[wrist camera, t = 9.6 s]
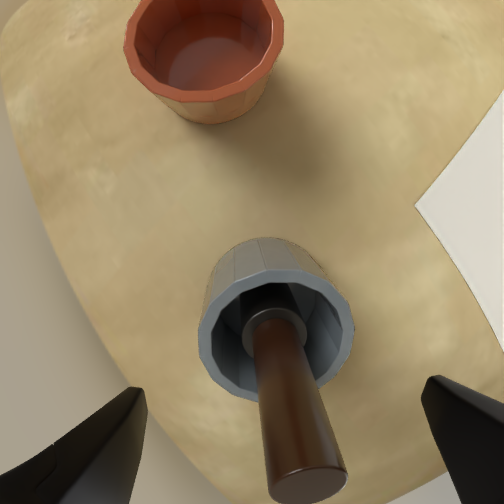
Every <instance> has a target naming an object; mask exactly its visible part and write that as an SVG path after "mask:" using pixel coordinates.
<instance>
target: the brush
mask: <svg viewBox="0 0 504 504" xmlns="http://www.w3.org/2000/svg"><path fill="white" fill-rule="evenodd" d="M240 315H241V337H242V344H243V347H244V349H245V351H246V352H247V353H248V355H250V356H251V357H252V358H253V359H254V365H255V374H256V383H257V393H258V402H259V411H260V420H261V429H262V439H263V447H264V456H265V465H266V474H267V483H268V492H269V495H270V496H271V498H272V499H273V500H275V501H276V502H278V503H281V504H312V503H316V502H320V501H323V500H325V499H327V498H330V497H331V496H333V495H335V494H336V493H338V492H339V491H340V490H341V489H342V488H343V487H344V486H345V485H346V483H347V480H348V473H347V470H346V467H345V464H344V461H343V458H342V455H341V453H340V450H339V447H338V444H337V441H336V438H335V435H334V432H333V430H332V427H331V424H330V421H329V418H328V415H327V413H326V410H325V407H324V404H323V401H322V399H321V396H320V393H319V390H318V387H317V385H316V382H315V379H314V376H313V373H312V371H311V368H310V365H309V362H308V360H307V357H306V354H305V351H304V348H303V347H304V345H305V343H306V340H307V327H306V324H305V322H304V320H303V317H302V315H301V313H300V310H299V308H298V306H297V303H296V301H295V299H294V297H293V294H292V292H291V290H290V287H289V285H288V284H287V283H267V284H264V285H261V286H258V287H256V288H253V289H250V290H247V291H245V292H242V293H241V294H240Z"/></svg>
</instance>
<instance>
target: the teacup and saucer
mask: <svg viewBox="0 0 504 504" xmlns="http://www.w3.org/2000/svg"><path fill="white" fill-rule="evenodd" d="M414 206H415V207H416V208H417V210H418V211H419V212H420V214H421V215H422V217H423V218H424V219H425V221H426V222H427V223H428V225H429V226H430V228H431V229H432V230H433V232H434V233H435V235H436V236H437V238H438V239H439V241H440V242H441V243H442V245H443V246H444V248H445V249H446V251H447V252H448V254H449V255H450V257H451V259H452V260H453V262H454V263H455V265H456V266H457V268H458V270H459V271H460V273H461V274H462V276H463V278H464V279H465V281H466V283H467V284H468V286H469V288H470V289H471V291H472V293H473V294H474V296H475V298H476V300H477V301H478V303H479V305H480V307H481V309H482V310H483V312H484V314H485V316H486V318H487V320H488V321H489V323H490V325H491V327H492V329H493V331H494V333H495V335H496V337H497V339H498V341H499V343H500V345H501V347H502V349H503V351H504V90H503V91H502V93H501V94H500V96H499V97H498V99H497V100H496V102H495V103H494V104H493V106H492V107H491V109H490V110H489V112H488V113H487V114H486V116H485V117H484V118H483V120H482V121H481V123H480V124H479V125H478V127H477V128H476V129H475V131H474V132H473V133H472V135H471V136H470V137H469V139H468V140H467V141H466V143H465V144H464V145H463V147H462V148H461V149H460V150H459V152H458V153H457V154H456V155H455V157H454V158H453V159H452V161H451V162H450V163H449V164H448V166H447V167H446V168H445V169H444V171H443V172H442V173H441V174H440V175H439V177H438V178H437V179H436V180H435V181H434V183H433V184H432V185H431V186H430V187H429V189H428V190H427V191H426V192H425V193H424V195H423V196H422V197H421V198H420V199H419V200H418V202H417V203H416V204H415V205H414Z"/></svg>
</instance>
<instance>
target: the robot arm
mask: <svg viewBox="0 0 504 504" xmlns="http://www.w3.org/2000/svg"><path fill="white" fill-rule="evenodd" d="M421 402H422V405H423V408H424V411H425V414H426V417H427V420H428V423H429V426H430V429H431V432H432V435H433V437H434V440H435V442H436V444H437V446H438V449H439V451H440V453H441V455H442V458H443V460H444V462H445V465H446V467H447V469H448V472H449V474H450V476H451V479H452V481H453V484H454V486H455V489H456V491H457V494H458V496H459V499H460V501H461V504H504V404H503V403H501V402H499V401H497V400H494V399H492V398H490V397H488V396H485V395H483V394H481V393H479V392H476V391H474V390H472V389H470V388H468V387H465V386H463V385H461V384H459V383H457V382H454V381H452V380H450V379H448V378H446V377H444V376H441V375H435V376H431V377H429V378H428V379H427V382H426V384H425V387H424V390H423V392H422V395H421ZM147 414H148V409H147V404H146V399H145V394H144V390H143V389H142V388H139V387H128V388H127V389H126V390H124V391H123V392H122V393H120V394H119V395H118V396H116V397H115V398H114V399H112V400H111V401H110V402H108V403H107V404H106V405H104V406H103V407H102V408H100V409H99V410H98V411H96V412H95V413H94V414H92V415H91V416H90V417H88V418H87V419H86V420H85V421H83V422H82V423H80V424H79V425H78V426H76V427H75V428H74V429H72V430H71V431H70V432H68V433H67V434H65V435H64V436H63V437H61V438H60V439H59V440H57V441H56V442H54V445H53V444H51V445H50V446H49V447H47V448H46V449H44V450H43V451H42V452H40V453H39V454H38V455H36V456H34V457H33V458H31V459H29V460H28V461H26V462H24V463H23V464H21V465H19V466H17V467H15V468H14V469H12V470H10V471H8V472H6V473H4V474H2V475H0V504H129V501H130V498H131V494H132V490H133V486H134V482H135V478H136V475H137V471H138V467H139V463H140V460H141V455H142V449H143V442H144V434H145V428H146V421H147Z"/></svg>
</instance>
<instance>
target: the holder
mask: <svg viewBox="0 0 504 504" xmlns="http://www.w3.org/2000/svg"><path fill="white" fill-rule="evenodd" d="M283 44H284V20H283V17H282V15H281V13H280V11H279V9H278V7H277V5H276V3H275V1H274V0H141V1H140V3H139V5H138V6H137V8H136V9H135V11H134V12H133V14H132V16H131V17H130V19H129V21H128V23H127V26H126V32H125V39H124V46H123V48H124V53H125V56H126V59H127V62H128V65H129V68H130V71H131V73H132V74H133V75H134V76H135V77H136V78H137V79H138V80H139V81H140V82H141V83H142V84H143V85H144V86H145V87H146V88H147V89H148V90H149V91H150V92H151V93H153V94H154V95H155V96H156V97H157V98H159V99H160V100H161V101H162V102H163V103H164V104H166V105H167V106H168V107H170V108H171V109H173V110H174V111H175V112H176V113H177V114H179V115H180V116H182V117H184V118H186V119H188V120H190V121H194V122H197V123H203V124H218V123H223V122H227V121H230V120H233V119H235V118H238V117H239V116H241V115H243V114H244V113H246V112H247V111H248V110H250V109H251V108H252V107H253V106H254V105H255V104H256V102H257V101H258V100H259V98H260V97H261V95H262V93H263V91H264V89H265V86H266V84H267V81H268V79H269V77H270V75H271V73H272V71H273V69H274V66H275V64H276V62H277V59H278V57H279V55H280V52H281V50H282V48H283Z"/></svg>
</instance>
